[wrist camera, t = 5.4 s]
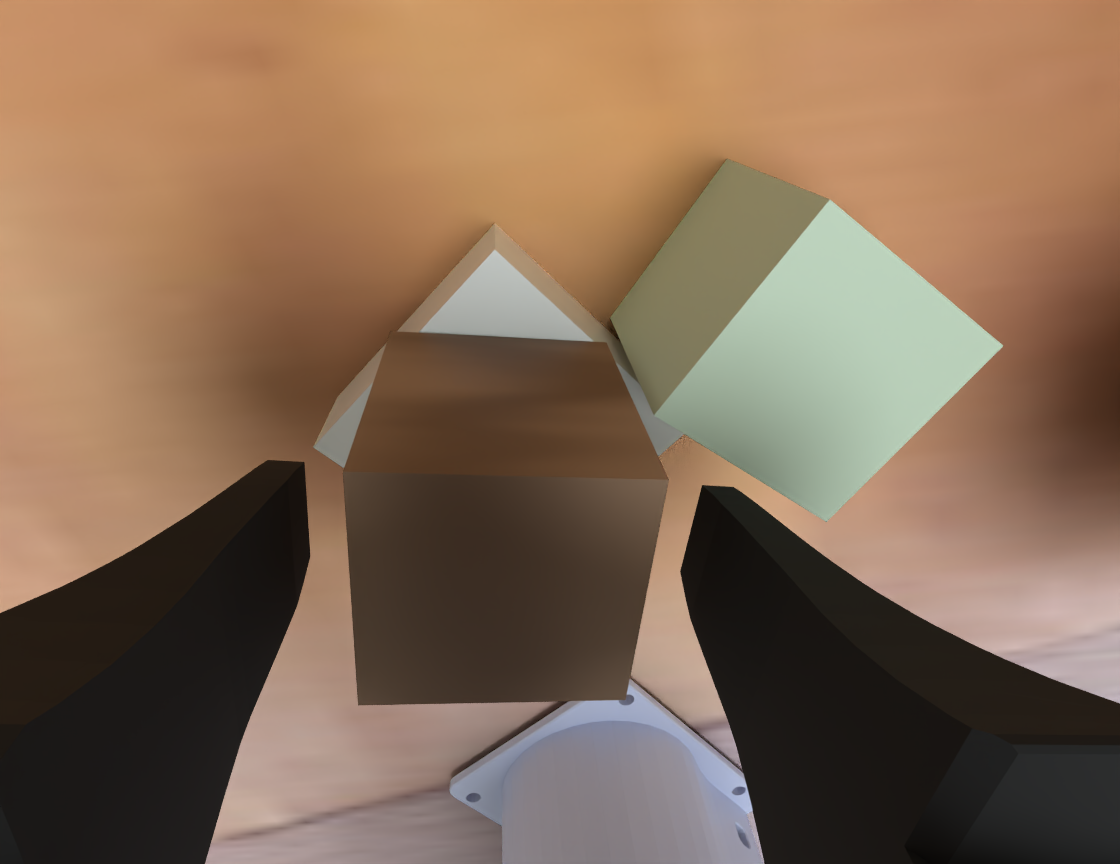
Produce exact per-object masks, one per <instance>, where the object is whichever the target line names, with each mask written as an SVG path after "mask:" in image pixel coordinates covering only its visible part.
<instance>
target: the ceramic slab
mask: <svg viewBox="0 0 1120 864" xmlns="http://www.w3.org/2000/svg"><path fill="white" fill-rule="evenodd" d="M397 331H399V332H418V333H437V334H456V335H475V336H495V337H514V338H533V339H552V340H571V341H590V342H607V345H608V347H609V349H610V351H611V353H612V356H613V358H614V360H615V362H616V364H617V367H618V369H619V371H620V373H621V375H622V378H623V380H624V382H625V384H626V387H627V389H628V391H629V393H630V395H631V398H632V400H633V402H634V404H635V406H636V409H637V411H638V413H639V415H640V417H641V420H642V422H643V424H644V426H645V429H646V431H647V433H648V435H649V437H650V440H651V442H652V444H653V446H654V448H655V451H656V453H657V455H658V456H659V455H661V454H662V453H663V452H664V451H665V450H666V449H667V448H669V447H670V446H671V445H672V444H673V443H674V442H675V441H677V440H678V439H679V438H680V437H681V436H682V435H684V434H683V433H682V432H680V431H678V430H677V429H675V428H674V427H672V426H670V425H669V424H667V423H666V422H664V421H662V420H661V419H659V418H657V417H656V416H654V414H653V412H652V410H651V408H650V405H649V403H648V401H647V399H646V397H645V394H644V392H643V390H642V388H641V385H640V383H639V381H638V379H637V377H636V374H635V372H634V370H633V368H632V365H631V363H630V361H629V359H628V357H627V354H626V352H625V350H624V348H623V345H622V343H621V342H620V341H619V340H618V339H617V338H615V337H614V336H613V335H612V334H611V333H610V332H609V331H608V330H607V329H606V328H605V327H604V326H603V325H602V324H601V323H600V322H599V321H598V320H597V319H595V318H594V317H593V316H592V315H591V314H590V313H589V312H588V311H587V310H586V309H585V308H584V307H583V306H582V305H581V304H580V303H579V302H578V301H577V300H575V299H574V298H573V297H572V296H571V295H570V294H569V293H568V292H567V291H566V290H565V289H564V288H563V287H562V286H561V285H560V284H559V283H558V282H557V281H555V280H554V279H553V278H552V277H551V276H550V275H549V274H548V273H547V272H546V271H545V270H544V269H543V268H542V267H541V266H540V265H539V264H538V263H537V262H535V261H534V260H533V259H532V258H531V257H530V256H529V255H528V254H527V253H526V252H525V251H524V250H523V249H522V248H521V247H520V246H519V245H518V244H517V243H515V242H514V241H513V240H512V239H511V238H510V237H509V236H508V235H507V234H506V233H505V232H504V231H503V230H502V229H501V228H500V227H499V226H498V225H497V224H495V223H494V225H493V226H492V227H491V228H490V229H489V230H488V231H487V232H486V233H485V234H484V236H483V237H482V238H481V239H480V240H479V241H478V242H477V243H476V244H475V245H474V247H473V248H472V249H471V250H470V251H469V252H468V253H467V254H466V255H465V257H464V258H463V259H462V260H461V261H460V262H459V263H458V264H457V265H456V266H455V268H454V269H453V270H452V271H451V272H450V273H449V274H448V275H447V276H446V278H445V279H444V280H443V281H442V282H441V283H440V284H439V285H438V286H437V287H436V289H435V290H434V291H433V292H432V293H431V294H430V295H429V296H428V297H427V298H426V300H425V301H424V302H423V303H422V304H421V305H420V306H419V307H418V308H417V310H416V311H415V312H414V313H413V314H412V315H411V316H410V317H409V318H408V319H407V321H406V322H405V323H404V324H403V325H402V326H401V327H400V328H399V329H398V330H397ZM385 346H386V344H385V345H384V346H383V347H382V348H381V349H380V350H379V351H378V353H377V354H376V355H375V356H374V357H373V358H372V359H371V360H370V361H369V363H368V364H367V365H366V366H365V367H364V368H363V369H362V370H361V371H360V372H359V374H358V375H357V376H356V377H355V378H354V379H353V380H352V381H351V382H350V383H349V385H348V386H347V387H346V388H345V389H344V390H343V391H342V392H341V393H340V395H339V396H338V397H337V399H336V401H335V403H334V405H333V407H332V409H331V411H330V413H329V415H328V417H327V420H326V422H325V424H324V426H323V428H322V430H321V432H320V434H319V436H318V438H317V440H316V442H315V444H314V446H313V447H314V448H315V449H316V450H318V451H319V452H321V453H322V454H324V455H325V456H327V457H328V458H330V459H331V460H332V461H334V462H335V463H337V464H338V465H340V466H341V467H343V468H344V467H345V464H346V461H347V458H348V455H349V452H350V449H351V446H352V444H353V441H354V438H355V435H356V432H357V429H358V426H359V423H360V420H361V417H362V414H363V411H364V408H365V405H366V402H367V399H368V396H369V393H370V390H371V388H372V385H373V382H374V379H375V376H376V373H377V370H378V367H379V364H380V361H381V358H382V355H383V352H384V349H385Z"/></svg>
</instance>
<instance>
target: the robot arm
mask: <svg viewBox="0 0 1120 864" xmlns="http://www.w3.org/2000/svg"><path fill="white" fill-rule="evenodd" d="M309 559H310V544H309V528H308V512H307V496H306V481H305V465H304V462H292V461H275V460H267V461H266V462H264V463H263V464H261V465H260V466H258V467H257V468H255V469H254V470H252V471H251V472H249V473H248V474H247V475H245V476H244V477H242V478H241V479H240V480H238V481H237V482H236V483H234V484H233V485H231V486H230V487H229V488H227V489H226V490H224V491H223V492H221V493H220V494H219V495H217V496H216V497H214V498H213V499H211V500H210V501H208V502H207V503H206V504H204V505H203V506H201V507H200V508H198V509H197V510H195V511H194V512H193V513H191V514H190V515H188V516H187V517H185V518H183V519H182V520H180V521H179V522H177V523H175V524H174V525H172V526H171V527H169V528H167V529H166V530H164V531H163V532H161V533H159V534H158V535H156V536H155V537H153V538H151V539H150V540H148V541H146V542H145V543H143V544H142V545H140V546H138V547H137V548H135V549H133V550H132V551H130V552H128V553H126V554H125V555H123V556H121V557H119V558H117V559H115V560H114V561H112V562H110V563H108V564H106V565H104V566H102V567H100V568H98V569H96V570H94V571H92V572H90V573H88V574H86V575H84V576H83V577H81V578H79V579H77V580H75V581H73V582H70V583H68V584H66V585H64V586H62V587H60V588H58V589H55V590H53V591H51V592H48V593H46V594H44V595H41V596H39V597H37V598H34V599H32V600H30V601H27V602H25V603H23V604H20V605H18V606H16V607H14V608H11V609H9V610H7V611H4V612H2V613H0V864H205V861H206V858H207V854H208V851H209V847H210V844H211V840H212V837H213V833H214V830H215V826H216V823H217V819H218V816H219V812H220V809H221V805H222V802H223V799H224V795H225V792H226V789H227V786H228V782H229V779H230V776H231V772H232V769H233V766H234V763H235V759H236V756H237V753H238V749H239V746H240V743H241V740H242V738H243V735H244V732H245V730H246V727H247V724H248V722H249V719H250V716H251V714H252V712H253V709H254V707H255V705H256V702H257V700H258V698H259V695H260V693H261V690H262V688H263V686H264V683H265V681H266V679H267V676H268V674H269V672H270V669H271V667H272V665H273V662H274V660H275V658H276V655H277V653H278V650H279V648H280V646H281V643H282V641H283V639H284V636H285V634H286V631H287V629H288V627H289V624H290V622H291V619H292V617H293V614H294V612H295V610H296V607H297V604H298V601H299V597H300V593H301V590H302V586H303V583H304V579H305V575H306V571H307V567H308V563H309ZM680 572H681V577H682V582H683V587H684V592H685V597H686V602H687V606H688V610H689V615H690V619H691V622H692V624H693V627H694V630H695V633H696V636H697V638H698V641H699V644H700V647H701V649H702V652H703V655H704V658H705V660H706V663H707V666H708V668H709V671H710V674H711V676H712V679H713V682H714V684H715V687H716V690H717V692H718V695H719V698H720V700H721V703H722V706H723V708H724V711H725V714H726V716H727V719H728V722H729V725H730V728H731V731H732V734H733V737H734V740H735V743H736V746H737V750H738V754H739V758H740V762H741V766H742V770H743V772H741V771H740V770H739V769H738V768H737V767H735V766H734V765H733V764H732V763H731V762H729V761H728V760H727V759H726V758H725V757H723V756H722V755H721V754H720V753H719V752H717V751H716V750H715V749H714V748H713V747H711V746H710V745H709V744H708V743H707V742H705V741H704V740H703V739H702V738H701V737H699V736H698V735H697V734H696V733H695V732H693V731H692V730H691V729H690V728H689V727H687V726H686V725H685V724H684V723H683V722H681V721H680V720H679V719H678V718H677V717H675V716H674V715H673V714H672V713H671V712H669V711H668V710H667V709H666V708H665V707H663V706H662V705H661V704H660V703H659V702H657V701H656V700H655V699H654V698H653V697H651V696H650V695H649V694H648V693H647V692H645V691H644V690H643V689H642V688H641V687H639V686H638V685H637V684H636V683H635V682H633V681H632V680H631V679H630V680H629V685H628V690H627V694H629V695H626V700H603V701H569V702H567V703H566V704H564V705H563V706H561V707H560V708H558V709H556V710H555V711H553V712H552V713H550V714H549V715H547V716H546V717H544V718H543V719H541V720H540V721H538V722H537V723H535V724H534V725H532V726H531V727H529V728H527V729H526V730H524V731H523V732H521V733H520V734H518V735H517V736H515V737H514V738H512V739H511V740H509V741H508V742H506V743H505V744H503V745H501V746H500V747H498V748H497V749H495V750H494V751H492V752H491V753H489V754H488V755H486V756H485V757H483V758H482V759H480V760H479V761H477V762H476V763H474V764H472V765H471V766H469V767H468V768H466V769H465V770H463V771H462V772H460V773H459V774H457V775H456V776H454V777H453V778H452V779H451V782H450V794H451V795H452V796H453V797H455V798H456V799H458V800H460V801H461V802H463V803H464V804H466V805H468V806H469V807H471V808H473V809H474V810H476V811H478V812H479V813H481V814H482V815H484V816H486V817H487V818H489V819H491V820H492V821H494V822H496V823H497V824H499V825H501V826H502V864H763V862H762V859H761V856H760V853H759V850H758V847H757V844H756V841H755V838H754V835H753V832H752V829H751V826H750V823H749V820H748V817H747V814H748V813H750V812H752V811H753V814H754V818H755V823H756V827H757V831H758V836H759V840H760V844H761V849H762V853H763V858H764V862H765V864H1120V704H1119V703H1117V702H1114V701H1111V700H1108V699H1105V698H1103V697H1100V696H1097V695H1094V694H1091V693H1089V692H1086V691H1083V690H1080V689H1078V688H1075V687H1072V686H1069V685H1066V684H1064V683H1061V682H1058V681H1056V680H1053V679H1051V678H1048V677H1046V676H1043V675H1041V674H1039V673H1036V672H1034V671H1031V670H1029V669H1027V668H1024V667H1022V666H1019V665H1017V664H1015V663H1012V662H1010V661H1008V660H1005V659H1003V658H1001V657H999V656H996V655H994V654H992V653H990V652H988V651H985V650H983V649H981V648H979V647H977V646H975V645H973V644H971V643H969V642H967V641H965V640H963V639H961V638H959V637H957V636H955V635H953V634H951V633H949V632H947V631H945V630H943V629H941V628H939V627H937V626H935V625H933V624H931V623H929V622H928V621H926V620H924V619H922V618H920V617H918V616H917V615H915V614H913V613H911V612H910V611H908V610H906V609H905V608H903V607H901V606H899V605H898V604H896V603H894V602H893V601H891V600H889V599H888V598H886V597H884V596H883V595H881V594H879V593H878V592H876V591H875V590H873V589H871V588H870V587H868V586H867V585H865V584H864V583H862V582H861V581H859V580H858V579H856V578H855V577H853V576H852V575H851V574H849V573H848V572H846V571H845V570H843V569H842V568H840V567H839V566H838V565H836V564H835V563H833V562H832V561H830V560H829V559H828V558H826V557H825V556H824V555H822V554H821V553H820V552H818V551H817V550H816V549H814V548H813V547H812V546H810V545H809V544H808V543H806V542H805V541H804V540H802V539H801V538H800V537H798V536H797V535H796V534H795V533H793V532H792V531H791V530H790V529H788V528H787V527H786V526H784V525H783V524H782V523H781V522H779V521H778V520H777V519H776V518H774V517H773V516H772V515H771V514H769V513H768V512H767V511H765V510H764V509H763V508H762V507H760V506H759V505H758V504H756V503H755V502H754V501H753V500H751V499H750V498H749V497H747V496H746V495H744V494H743V493H742V492H740V491H739V490H737V489H736V488H734V487H722V486H705V485H702V488H701V492H700V496H699V500H698V504H697V508H696V512H695V516H694V520H693V524H692V528H691V532H690V535H689V539H688V543H687V547H686V551H685V555H684V559H683V563H682V567H681V571H680Z"/></svg>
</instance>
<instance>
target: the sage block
mask: <svg viewBox="0 0 1120 864" xmlns="http://www.w3.org/2000/svg"><path fill="white" fill-rule="evenodd" d="M610 319H611V321H612V323H613V326H614V328H615V330H616V332H617V334H618V337H619V339H620V341H621V343H622V345H623V348H624V350H625V352H626V354H627V357H628V359H629V361H630V363H631V365H632V368H633V370H634V372H635V374H636V377H637V379H638V381H639V383H640V385H641V388H642V390H643V392H644V394H645V397H646V399H647V401H648V403H649V405H650V408H651V410H652V412H653V414H654V416H656V417H657V418H659V419H661V420H662V421H664V422H666V423H667V424H669V425H670V426H672V427H674V428H675V429H677V430H678V431H680V432H682V433H683V434H685V435H687V436H688V437H690V438H691V439H693V440H695V441H696V442H698V443H699V444H701V445H703V446H704V447H706V448H708V449H709V450H711V451H712V452H714V453H716V454H717V455H719V456H721V457H722V458H724V459H725V460H727V461H729V462H730V463H732V464H733V465H735V466H737V467H738V468H740V469H742V470H743V471H745V472H746V473H748V474H750V475H751V476H753V477H755V478H756V479H758V480H759V481H761V482H763V483H764V484H766V485H767V486H769V487H771V488H772V489H774V490H776V491H777V492H779V493H780V494H782V495H784V496H785V497H787V498H788V499H790V500H792V501H793V502H795V503H797V504H798V505H800V506H801V507H803V508H805V509H806V510H808V511H810V512H811V513H813V514H814V515H816V516H818V517H819V518H821V519H822V520H824V521H826V522H827V521H828V520H829V519H830V518H831V517H832V516H833V515H834V514H835V513H836V512H837V511H838V510H839V509H840V508H841V507H842V506H843V505H844V504H845V503H846V502H847V501H848V500H849V499H850V498H851V497H852V496H853V495H854V494H855V493H856V492H857V491H858V490H859V489H860V488H861V487H862V486H863V485H864V484H865V483H866V482H867V481H868V480H869V479H870V478H871V477H872V476H873V475H874V474H875V473H876V472H877V471H878V470H879V469H880V468H881V467H882V466H883V465H884V464H885V463H886V462H887V461H888V460H889V459H890V458H891V457H892V456H893V455H894V454H895V453H896V452H897V451H898V450H899V449H900V448H901V447H902V446H903V445H904V444H905V443H906V442H907V441H908V440H909V439H910V438H911V437H912V436H913V435H914V434H915V433H916V432H917V431H918V430H919V429H920V428H921V427H922V426H923V425H924V424H925V423H926V422H927V421H928V420H929V419H930V418H931V417H932V416H933V415H934V414H935V413H936V412H937V411H938V410H939V409H940V408H941V407H942V406H943V405H944V404H945V403H946V402H947V401H948V400H949V399H950V398H951V397H952V396H953V395H954V394H955V393H957V392H958V391H959V390H960V389H961V388H962V387H963V386H964V385H965V384H966V383H967V382H968V381H969V380H970V379H971V378H972V377H973V376H974V375H975V374H976V373H977V372H978V371H979V370H980V369H981V368H982V367H983V366H984V365H985V364H986V363H987V362H988V361H989V360H990V359H991V358H992V357H993V356H994V355H995V354H996V353H997V352H998V351H999V350H1000V349H1001V348H1002V347H1003V345H1002V344H1001V343H999V342H998V341H997V340H996V339H995V338H993V337H992V336H991V335H990V334H989V333H988V332H986V331H985V330H984V329H983V328H982V327H980V326H979V325H978V324H977V323H976V322H974V321H973V320H972V319H971V318H970V317H969V316H967V315H966V314H965V313H964V312H963V311H961V310H960V309H959V308H958V307H957V306H956V305H954V304H953V303H952V302H951V301H950V300H948V299H947V298H946V297H945V296H944V295H943V294H941V293H940V292H939V291H938V290H937V289H935V288H934V287H933V286H932V285H931V284H929V283H928V282H927V281H926V280H925V279H924V278H922V277H921V276H920V275H919V274H918V273H916V272H915V271H914V270H913V269H912V268H911V267H909V266H908V265H907V264H906V263H905V262H903V261H902V260H901V259H900V258H899V257H898V256H896V255H895V254H894V253H893V252H892V251H890V250H889V249H888V248H887V247H886V246H884V245H883V244H882V243H881V242H880V241H879V240H877V239H876V238H875V237H874V236H873V235H871V234H870V233H869V232H868V231H867V230H866V229H864V228H863V227H862V226H861V225H860V224H858V223H857V222H856V221H855V220H854V219H853V218H851V217H850V216H849V215H848V214H847V213H845V212H844V211H843V210H842V209H841V208H839V207H838V206H837V205H836V204H835V203H834V202H832V201H831V200H830V199H828V198H825V197H822V196H820V195H817V194H815V193H812V192H810V191H807V190H805V189H802V188H800V187H797V186H795V185H792V184H790V183H787V182H785V181H782V180H780V179H777V178H775V177H772V176H770V175H767V174H765V173H762V172H760V171H757V170H755V169H752V168H749V167H747V166H744V165H742V164H739V163H737V162H734V161H732V160H729V159H726V161H725V162H724V163H723V165H722V166H721V168H720V169H719V170H718V172H717V173H716V174H715V176H714V177H713V178H712V180H711V181H710V183H709V184H708V185H707V187H706V188H705V189H704V191H703V192H702V193H701V195H700V196H699V197H698V199H697V200H696V202H695V203H694V204H693V206H692V207H691V208H690V210H689V211H688V212H687V214H686V215H685V216H684V218H683V219H682V221H681V222H680V223H679V225H678V226H677V227H676V229H675V230H674V231H673V233H672V234H671V235H670V237H669V238H668V240H667V241H666V242H665V244H664V245H663V246H662V248H661V249H660V250H659V252H658V253H657V255H656V256H655V257H654V259H653V260H652V261H651V263H650V264H649V265H648V267H647V268H646V269H645V271H644V272H643V274H642V275H641V276H640V278H639V279H638V280H637V282H636V283H635V284H634V286H633V287H632V288H631V290H630V291H629V293H628V294H627V295H626V297H625V298H624V299H623V301H622V302H621V303H620V305H619V306H618V308H617V309H616V310H615V312H614V313H613V314H612V316H611V317H610Z"/></svg>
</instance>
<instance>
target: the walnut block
mask: <svg viewBox="0 0 1120 864" xmlns="http://www.w3.org/2000/svg"><path fill="white" fill-rule="evenodd" d="M343 480H344V496H345V511H346V526H347V542H348V557H349V572H350V588H351V603H352V618H353V634H354V649H355V664H356V680H357V695H358V705H394V704H446V703H499V702H551V701H603V700H626V695H627V690H628V685H629V680H630V675H631V670H632V665H633V659H634V654H635V649H636V644H637V639H638V634H639V629H640V624H641V619H642V614H643V608H644V603H645V598H646V593H647V588H648V583H649V578H650V573H651V568H652V563H653V557H654V552H655V547H656V542H657V537H658V532H659V527H660V522H661V517H662V512H663V506H664V501H665V496H666V491H667V486H668V481H669V479H668V477H667V475H666V473H665V471H664V468H663V466H662V464H661V462H660V459H659V457H658V455H657V453H656V451H655V448H654V446H653V444H652V442H651V440H650V437H649V435H648V433H647V431H646V429H645V426H644V424H643V422H642V420H641V417H640V415H639V413H638V411H637V409H636V406H635V404H634V402H633V400H632V398H631V395H630V393H629V391H628V389H627V387H626V384H625V382H624V380H623V378H622V375H621V373H620V371H619V369H618V367H617V364H616V362H615V360H614V358H613V356H612V353H611V351H610V349H609V347H608V345H607V342H590V341H571V340H552V339H533V338H514V337H495V336H475V335H456V334H437V333H418V332H399V331H391V332H390V334H389V337H388V340H387V343H386V346H385V349H384V352H383V355H382V358H381V361H380V364H379V367H378V370H377V373H376V376H375V379H374V382H373V385H372V388H371V390H370V393H369V396H368V399H367V402H366V405H365V408H364V411H363V414H362V417H361V420H360V423H359V426H358V429H357V432H356V435H355V438H354V441H353V444H352V446H351V449H350V452H349V455H348V458H347V461H346V464H345V467H344V470H343Z"/></svg>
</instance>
